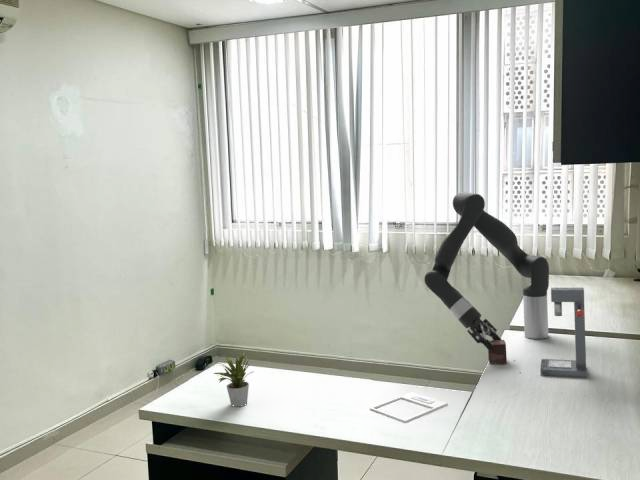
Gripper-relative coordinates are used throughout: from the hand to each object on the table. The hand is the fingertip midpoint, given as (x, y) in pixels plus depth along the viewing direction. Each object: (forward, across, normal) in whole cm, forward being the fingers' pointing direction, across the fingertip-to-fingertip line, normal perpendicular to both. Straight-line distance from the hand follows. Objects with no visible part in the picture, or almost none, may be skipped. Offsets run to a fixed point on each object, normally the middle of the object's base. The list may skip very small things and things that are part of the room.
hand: (496, 346), depth 217 cm
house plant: (-36, -74, +45) cm, 94 cm away
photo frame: (-1, -53, +10) cm, 54 cm away
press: (+21, -3, -13) cm, 25 cm away
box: (+4, 0, +4) cm, 6 cm away
